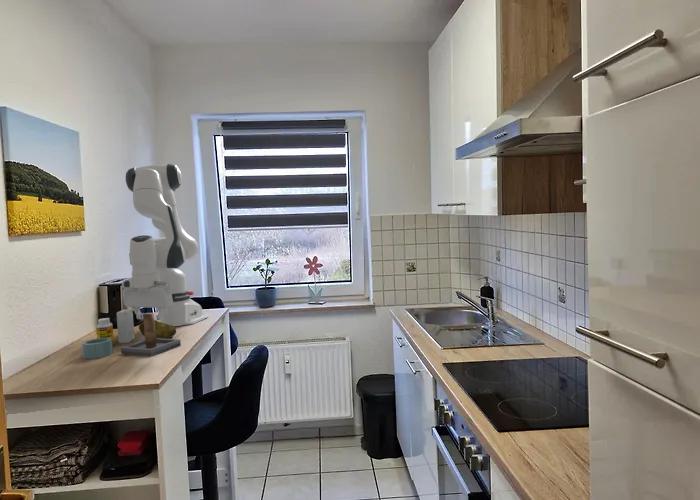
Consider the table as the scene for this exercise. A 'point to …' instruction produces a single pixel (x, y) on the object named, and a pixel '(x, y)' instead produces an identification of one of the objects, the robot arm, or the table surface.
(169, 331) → the potato
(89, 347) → the tube
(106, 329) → the supplement bottle
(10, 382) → the table surface
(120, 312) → the skincare box
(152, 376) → the table surface
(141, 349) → the tray
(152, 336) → the dowel
